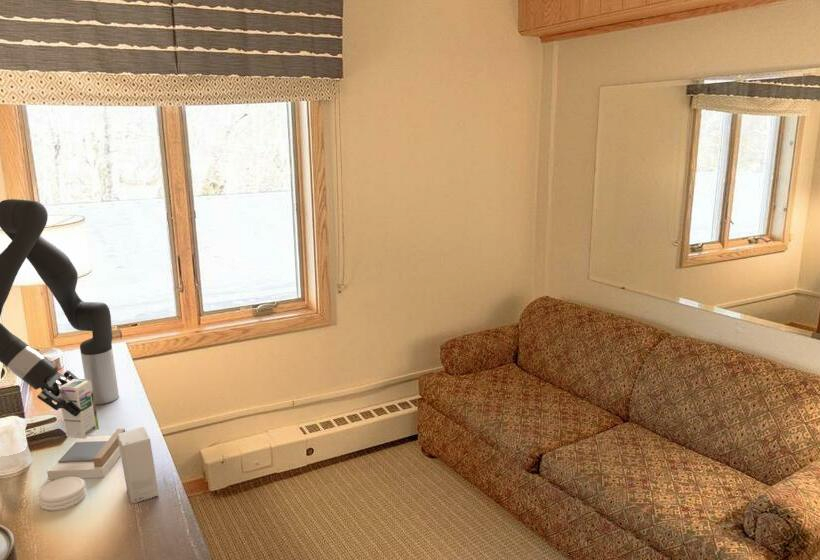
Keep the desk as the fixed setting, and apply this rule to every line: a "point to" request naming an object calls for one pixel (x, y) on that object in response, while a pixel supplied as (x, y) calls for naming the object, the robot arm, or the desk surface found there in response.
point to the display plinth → (87, 458)
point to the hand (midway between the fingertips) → (85, 407)
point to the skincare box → (138, 464)
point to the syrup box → (84, 399)
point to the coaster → (62, 493)
